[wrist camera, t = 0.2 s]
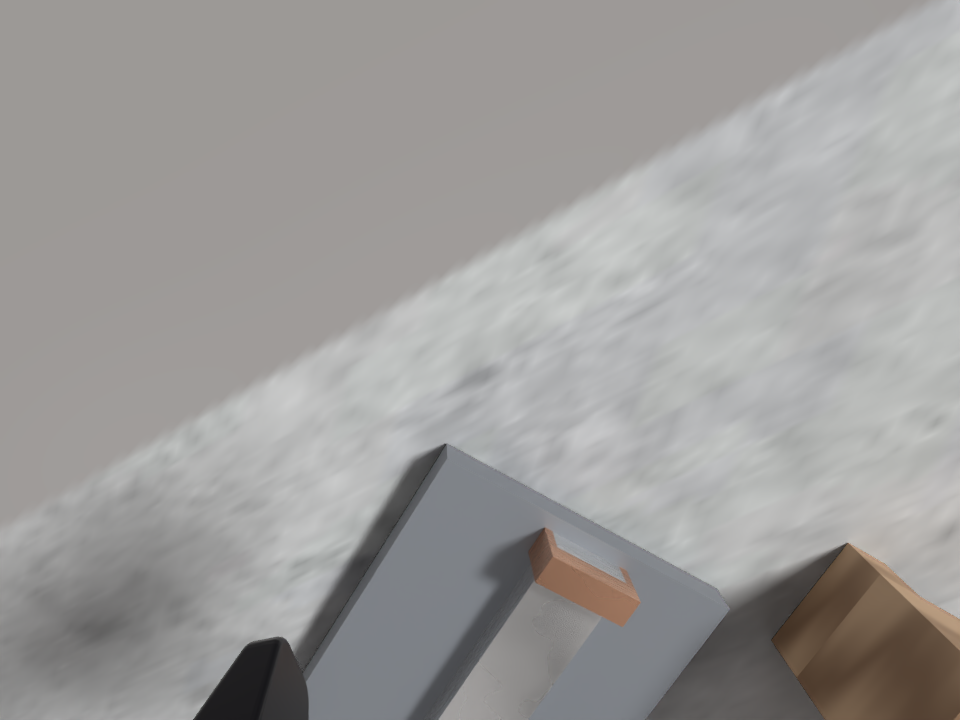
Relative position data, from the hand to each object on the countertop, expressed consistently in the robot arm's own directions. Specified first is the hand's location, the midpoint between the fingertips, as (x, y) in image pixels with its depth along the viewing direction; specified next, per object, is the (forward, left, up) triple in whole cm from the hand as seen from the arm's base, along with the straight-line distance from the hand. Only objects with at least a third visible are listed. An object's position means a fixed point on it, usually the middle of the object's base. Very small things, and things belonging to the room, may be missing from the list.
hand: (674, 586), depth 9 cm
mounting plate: (-14, -6, -15) cm, 21 cm away
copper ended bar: (-14, -6, -14) cm, 20 cm away
